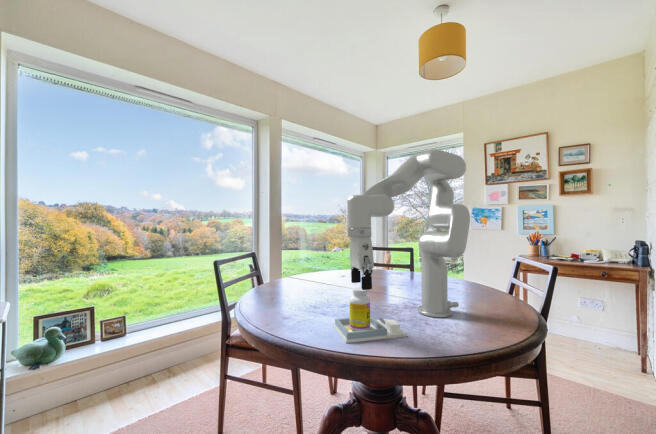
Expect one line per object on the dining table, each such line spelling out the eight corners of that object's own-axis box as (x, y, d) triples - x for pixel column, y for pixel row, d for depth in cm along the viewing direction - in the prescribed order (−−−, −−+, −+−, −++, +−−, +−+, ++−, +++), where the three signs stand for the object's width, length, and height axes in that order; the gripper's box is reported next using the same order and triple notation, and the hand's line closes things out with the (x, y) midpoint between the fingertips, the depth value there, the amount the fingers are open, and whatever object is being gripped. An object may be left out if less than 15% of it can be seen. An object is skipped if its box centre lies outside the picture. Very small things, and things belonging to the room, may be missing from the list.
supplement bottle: (369, 333, 90) (369, 292, 91) (348, 331, 92) (348, 291, 92) (370, 325, 97) (370, 287, 97) (350, 324, 98) (350, 286, 98)
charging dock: (387, 321, 104) (387, 312, 104) (407, 336, 90) (407, 325, 91) (333, 326, 99) (333, 316, 99) (345, 343, 86) (345, 332, 86)
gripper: (381, 234, 87) (383, 291, 87) (361, 231, 104) (362, 279, 104) (358, 235, 85) (359, 293, 85) (340, 232, 102) (342, 281, 102)
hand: (361, 285), depth 95 cm, fingers open, 9 cm apart
